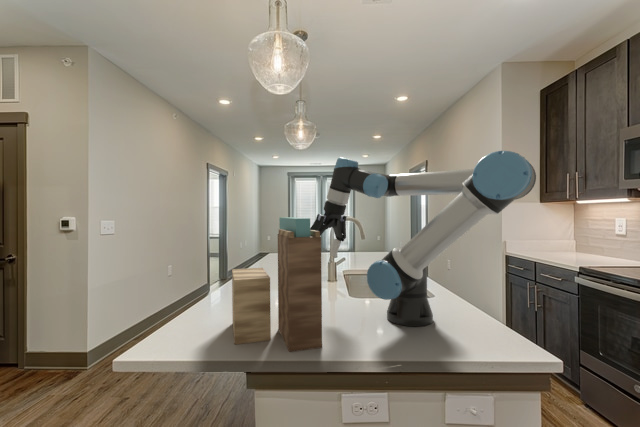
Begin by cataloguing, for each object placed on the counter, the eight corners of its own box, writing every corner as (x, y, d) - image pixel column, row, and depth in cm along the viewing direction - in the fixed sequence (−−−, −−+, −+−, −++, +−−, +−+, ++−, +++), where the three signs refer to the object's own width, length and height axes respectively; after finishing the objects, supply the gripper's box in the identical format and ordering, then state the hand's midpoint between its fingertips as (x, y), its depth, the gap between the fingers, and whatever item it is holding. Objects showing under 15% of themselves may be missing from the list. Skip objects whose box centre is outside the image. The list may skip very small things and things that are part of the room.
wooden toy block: (232, 323, 107) (232, 269, 107) (262, 320, 110) (262, 267, 110) (234, 344, 90) (234, 280, 90) (270, 340, 93) (270, 277, 93)
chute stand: (278, 329, 101) (277, 229, 101) (306, 326, 104) (305, 228, 104) (289, 352, 85) (288, 232, 85) (322, 347, 88) (321, 231, 88)
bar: (279, 231, 112) (279, 217, 112) (290, 231, 114) (290, 217, 114) (296, 237, 88) (295, 218, 88) (310, 236, 89) (310, 218, 89)
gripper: (349, 200, 125) (334, 250, 129) (304, 197, 106) (289, 256, 111) (364, 206, 120) (349, 258, 125) (320, 204, 102) (304, 265, 106)
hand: (321, 257), depth 118 cm, fingers open, 13 cm apart
